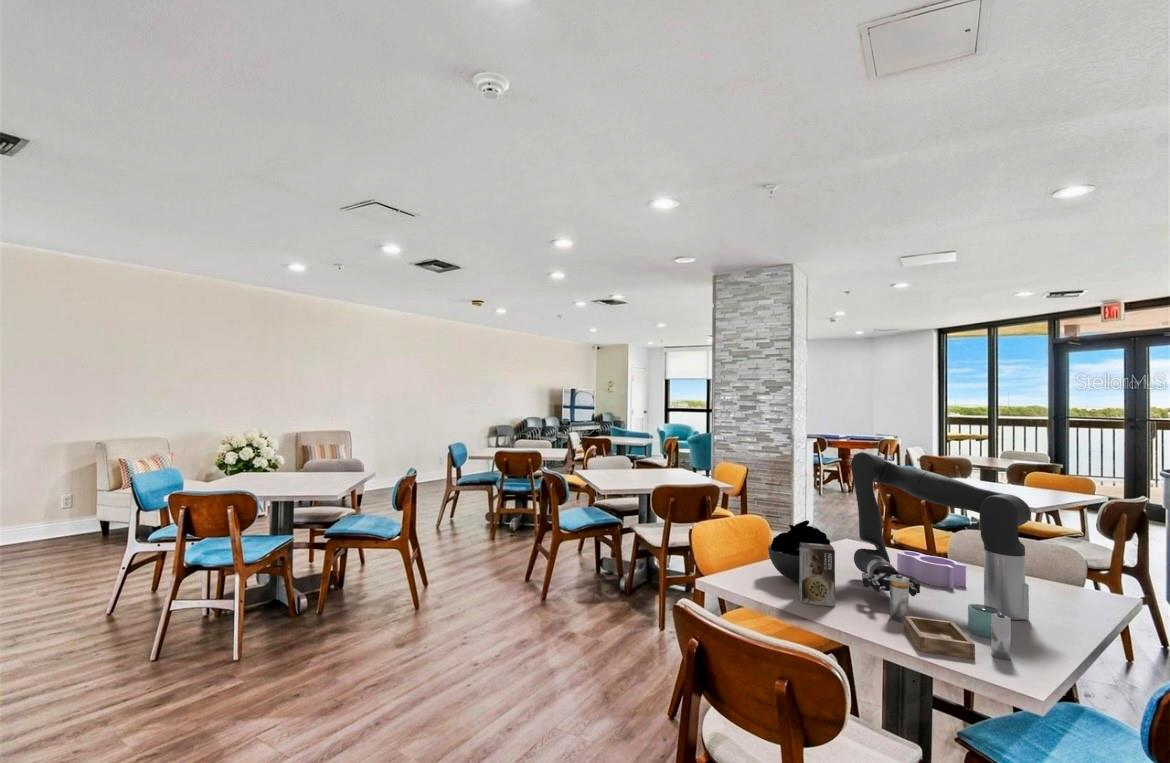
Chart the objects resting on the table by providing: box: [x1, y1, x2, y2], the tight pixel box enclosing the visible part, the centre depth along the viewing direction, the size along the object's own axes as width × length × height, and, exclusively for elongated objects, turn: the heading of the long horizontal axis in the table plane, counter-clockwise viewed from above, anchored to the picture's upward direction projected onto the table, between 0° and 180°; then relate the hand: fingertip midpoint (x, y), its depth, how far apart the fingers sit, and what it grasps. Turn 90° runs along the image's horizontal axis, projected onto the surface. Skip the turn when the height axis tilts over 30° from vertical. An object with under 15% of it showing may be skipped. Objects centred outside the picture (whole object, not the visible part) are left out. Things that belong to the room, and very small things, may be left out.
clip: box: [896, 550, 967, 590], centre depth 186 cm, size 20×12×7 cm, turn 25°
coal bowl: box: [767, 519, 831, 583], centre depth 178 cm, size 20×20×19 cm
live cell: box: [889, 574, 910, 623], centre depth 147 cm, size 4×4×12 cm
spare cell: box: [990, 613, 1012, 661], centre depth 126 cm, size 4×4×10 cm
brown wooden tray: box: [903, 615, 976, 660], centre depth 132 cm, size 11×14×3 cm
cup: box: [967, 603, 1002, 639], centre depth 140 cm, size 7×7×6 cm
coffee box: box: [798, 543, 836, 608], centre depth 159 cm, size 9×6×16 cm
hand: (895, 590), depth 150 cm, fingers open, 8 cm apart
